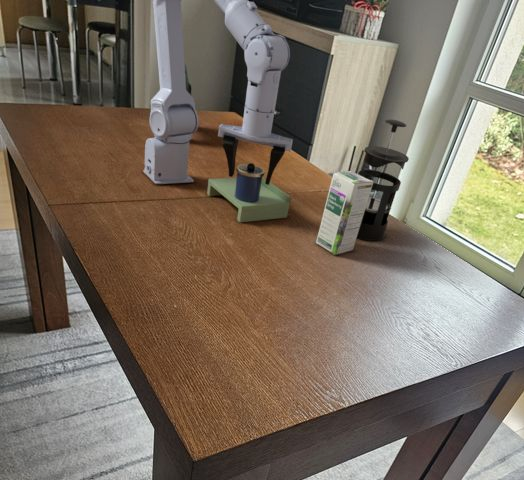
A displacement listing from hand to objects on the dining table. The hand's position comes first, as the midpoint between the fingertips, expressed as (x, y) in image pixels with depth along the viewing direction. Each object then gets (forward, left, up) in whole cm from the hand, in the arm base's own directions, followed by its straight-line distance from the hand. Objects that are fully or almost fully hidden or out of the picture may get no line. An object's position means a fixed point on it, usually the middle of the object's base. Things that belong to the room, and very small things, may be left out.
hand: (249, 179), depth 104 cm
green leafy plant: (+10, +55, -8) cm, 57 cm away
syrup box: (+11, -19, -8) cm, 23 cm away
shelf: (+3, +3, -7) cm, 9 cm away
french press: (+23, -14, -8) cm, 27 cm away
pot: (0, 0, -4) cm, 4 cm away
